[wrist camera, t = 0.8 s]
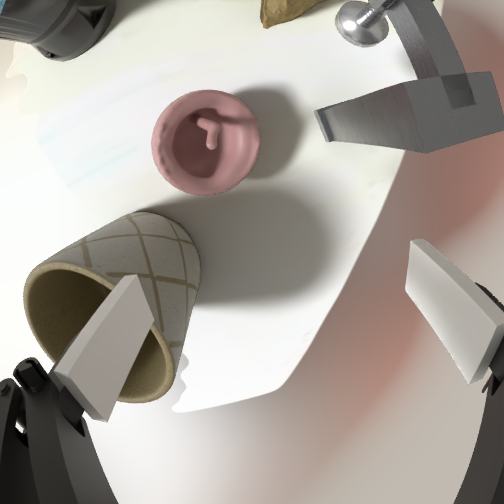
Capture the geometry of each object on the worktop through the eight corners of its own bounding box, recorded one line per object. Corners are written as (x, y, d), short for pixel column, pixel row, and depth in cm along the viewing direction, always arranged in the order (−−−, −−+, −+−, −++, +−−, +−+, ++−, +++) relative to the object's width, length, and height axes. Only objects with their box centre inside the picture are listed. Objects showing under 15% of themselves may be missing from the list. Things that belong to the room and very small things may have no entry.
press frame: (292, 64, 29) (333, -29, 8) (352, 49, 28) (445, -25, 6) (326, 141, 33) (419, 155, 12) (383, 123, 32) (510, 128, 10)
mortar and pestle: (253, 190, 37) (249, 213, 26) (167, 180, 36) (132, 198, 26) (267, 103, 32) (268, 88, 21) (177, 95, 32) (143, 81, 21)
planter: (204, 199, 37) (150, 262, 19) (215, 314, 45) (190, 414, 27) (90, 207, 38) (2, 259, 20) (115, 308, 46) (62, 386, 27)
